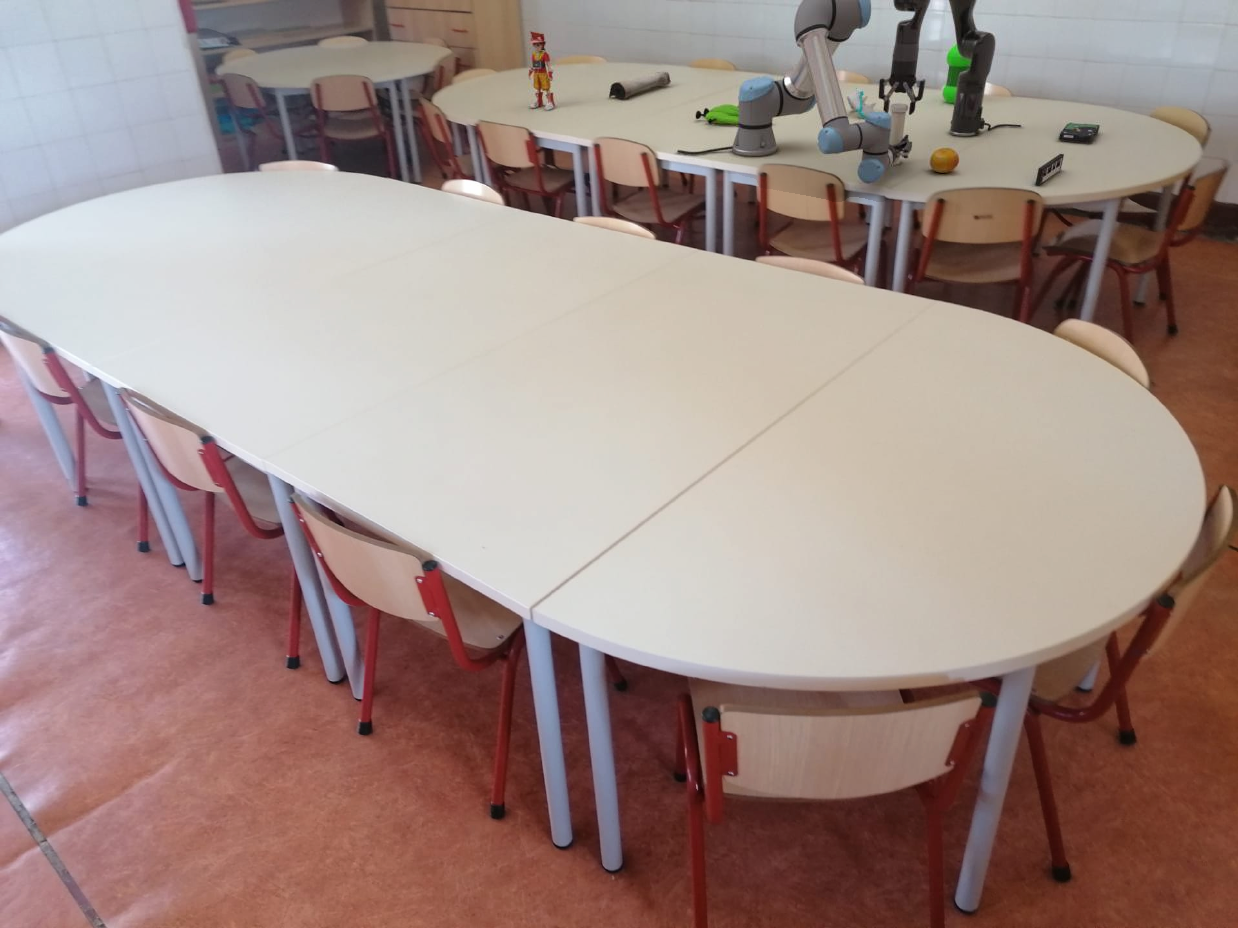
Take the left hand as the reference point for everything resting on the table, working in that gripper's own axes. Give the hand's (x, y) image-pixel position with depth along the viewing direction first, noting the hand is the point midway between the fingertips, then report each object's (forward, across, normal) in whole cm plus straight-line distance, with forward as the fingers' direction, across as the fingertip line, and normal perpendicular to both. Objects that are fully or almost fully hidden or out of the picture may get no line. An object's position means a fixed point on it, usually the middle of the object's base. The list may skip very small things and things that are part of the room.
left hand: (898, 138), depth 296 cm
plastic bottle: (+80, +4, -6) cm, 80 cm away
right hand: (-5, 0, +9) cm, 11 cm away
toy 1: (+29, -156, -6) cm, 159 cm away
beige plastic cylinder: (-5, 0, -6) cm, 8 cm away
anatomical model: (+52, -26, -6) cm, 59 cm away
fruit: (-10, +17, -6) cm, 21 cm away
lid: (-5, 0, +11) cm, 12 cm away
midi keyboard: (-7, +48, -6) cm, 49 cm away
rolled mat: (+65, -127, -6) cm, 143 cm away
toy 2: (+30, -68, -6) cm, 75 cm away
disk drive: (+41, +52, -6) cm, 67 cm away
